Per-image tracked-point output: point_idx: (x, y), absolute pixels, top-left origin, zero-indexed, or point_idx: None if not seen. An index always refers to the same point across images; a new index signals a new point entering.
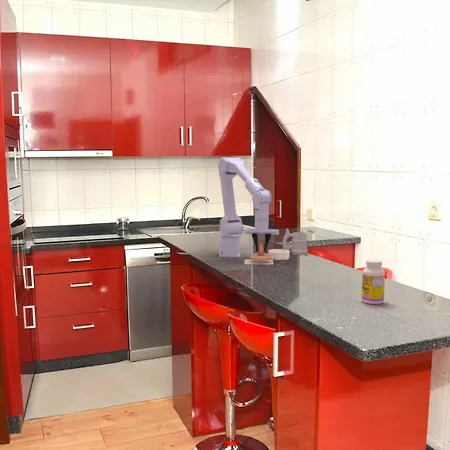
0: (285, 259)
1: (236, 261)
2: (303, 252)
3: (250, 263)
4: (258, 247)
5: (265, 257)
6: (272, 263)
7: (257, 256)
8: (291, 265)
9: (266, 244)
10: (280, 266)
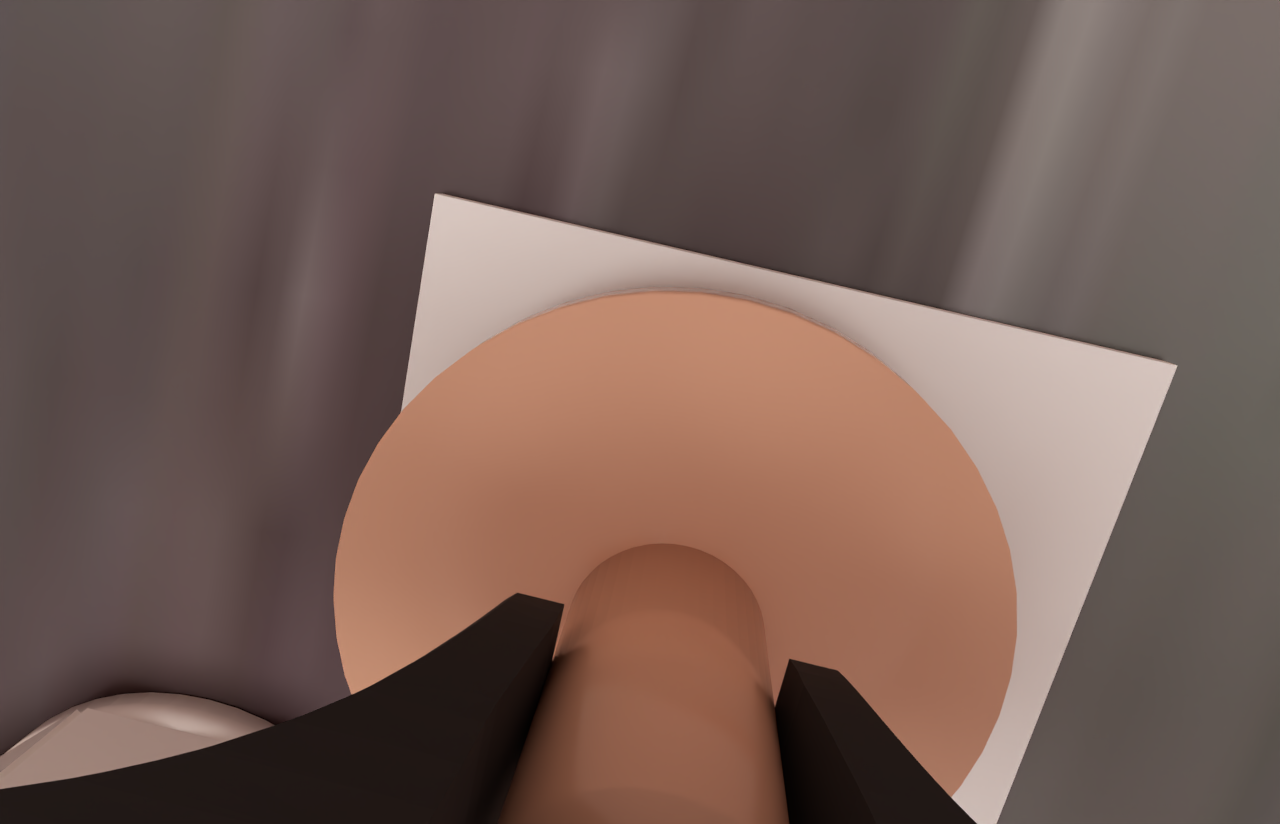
0: (61, 716)
1: (1192, 801)
2: None
3: (997, 396)
4: (777, 757)
5: (613, 297)
6: (440, 303)
7: (839, 437)
8: (11, 104)
9: (426, 691)
10: (299, 10)
